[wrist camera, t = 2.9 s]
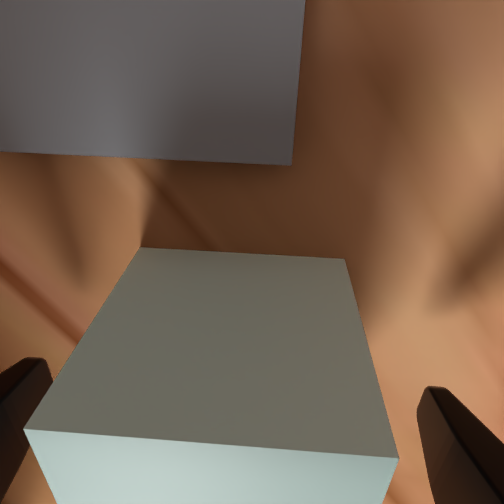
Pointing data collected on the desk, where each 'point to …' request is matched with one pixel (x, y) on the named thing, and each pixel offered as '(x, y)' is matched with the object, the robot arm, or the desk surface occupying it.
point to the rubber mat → (151, 78)
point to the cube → (219, 389)
